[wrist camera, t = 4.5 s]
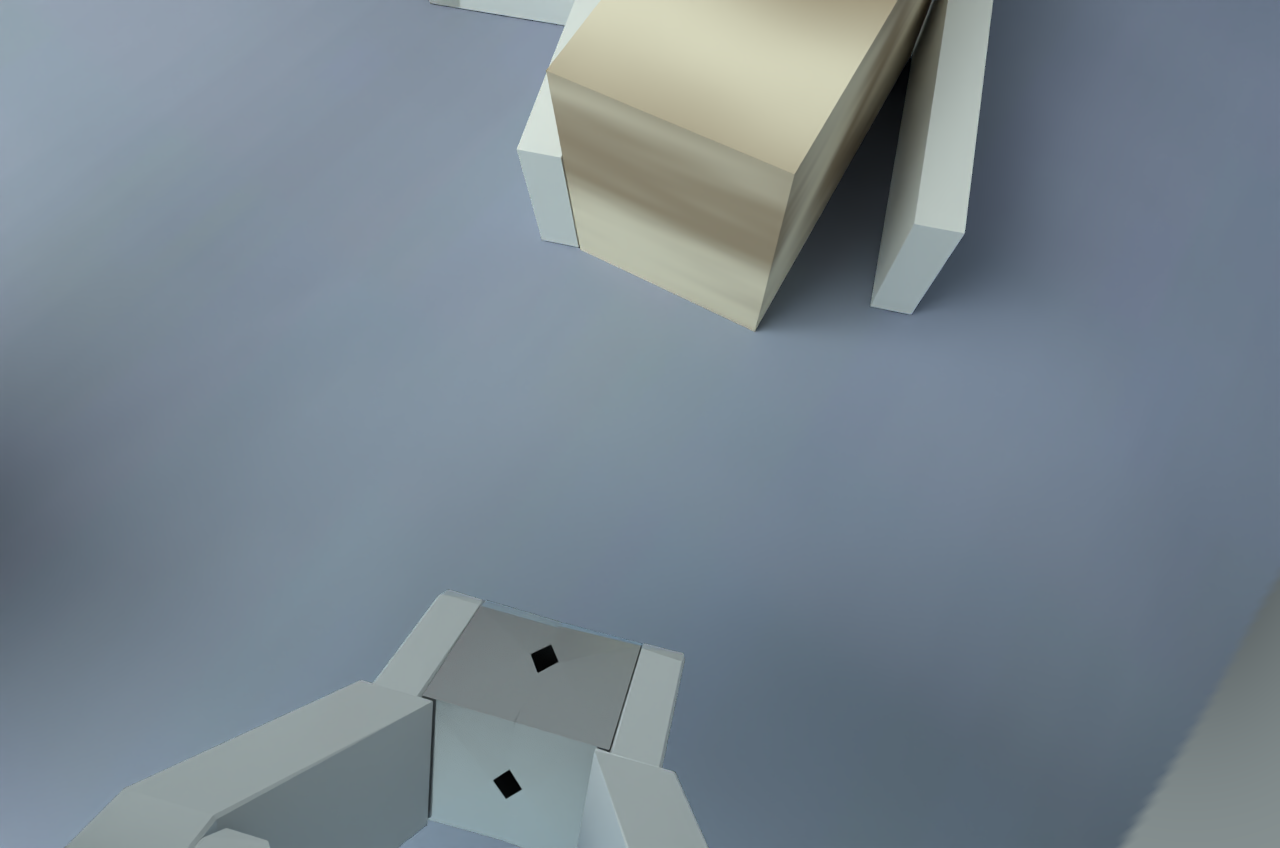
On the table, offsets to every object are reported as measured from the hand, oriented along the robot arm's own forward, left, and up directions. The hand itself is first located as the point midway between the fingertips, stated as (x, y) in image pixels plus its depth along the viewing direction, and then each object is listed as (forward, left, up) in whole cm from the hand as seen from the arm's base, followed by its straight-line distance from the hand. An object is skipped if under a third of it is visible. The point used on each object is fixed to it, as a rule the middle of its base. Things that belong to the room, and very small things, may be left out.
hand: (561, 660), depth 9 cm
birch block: (-14, +8, -10) cm, 19 cm away
